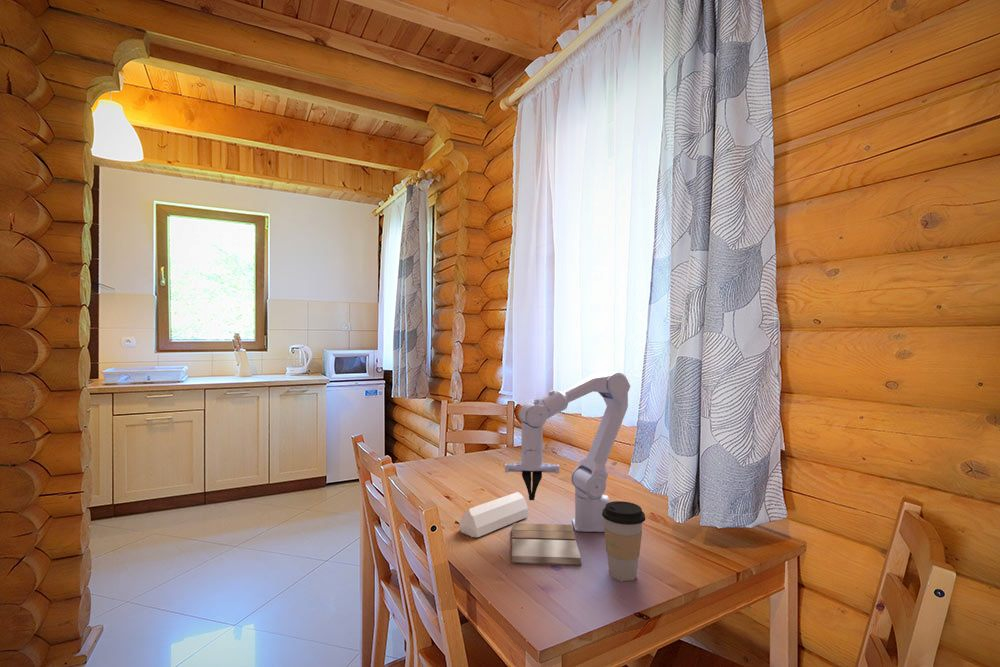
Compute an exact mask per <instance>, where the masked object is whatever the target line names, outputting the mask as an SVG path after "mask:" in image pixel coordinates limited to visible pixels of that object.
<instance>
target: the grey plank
mask: <svg viewBox="0 0 1000 667" xmlns="http://www.w3.org/2000/svg"><path fill="white" fill-rule="evenodd" d="M511 547H512V562H522V563H556V564H581V565H582V558H581V554H580V550H579V546H578V543H577V540H575V541H574V540H537V539H512V538H511Z"/></svg>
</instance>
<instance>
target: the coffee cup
mask: <svg viewBox="0 0 1000 667" xmlns="http://www.w3.org/2000/svg"><path fill="white" fill-rule="evenodd" d="M602 516H603V517H604V523H605V525H604V531H605V532H604V539H605V550H606V554H607V562H608V564H607V565H608V573H609V575H610V577H612V578H613V579H615V580H617V581H621V582H630V581H634V580H635V579H636V578H637V573H638V566H639V557H640V555H641V554H640V552H641V545H642V538H643V536H642V535H643V530H642V529H643V528H642V527H643V523H644V522H646V514H645V513H644V511H643V508H642V507H641V506H640V505H638V504H637V503H633V502H629V501H621V500H615V501H609V503H607V504H606V506H605V508H604V509H603V511H602Z"/></svg>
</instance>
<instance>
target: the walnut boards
mask: <svg viewBox="0 0 1000 667" xmlns="http://www.w3.org/2000/svg"><path fill="white" fill-rule="evenodd" d="M512 526H513V537H512V536H511V540H512V539H537V540H574V541H576V535H575V532H574V527H573V525H572V524H561V523H559V524H558V523H556V524H555V523H554V524H553V523H551V524H550V523H525V522H524V523H522V522H521V523H520V522H514V523H512Z"/></svg>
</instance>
